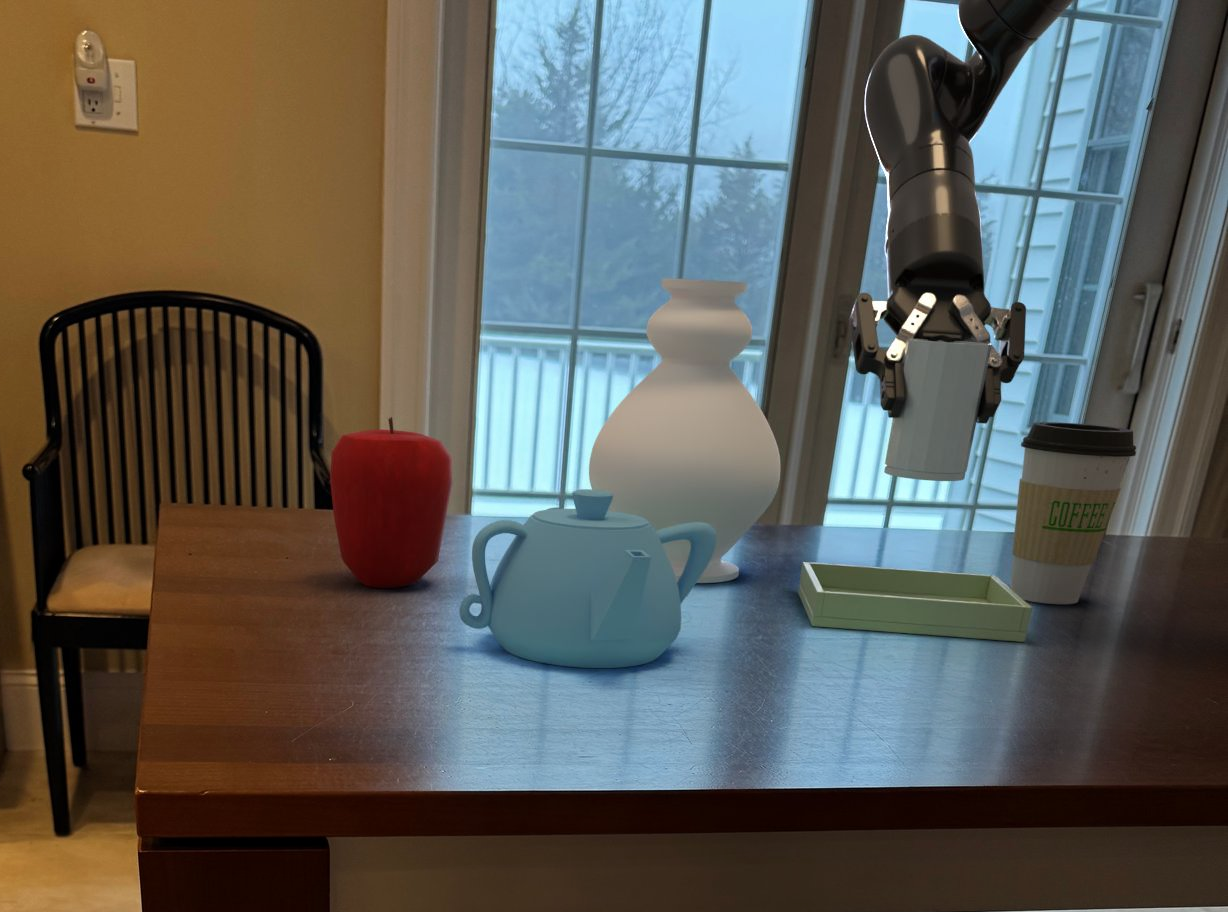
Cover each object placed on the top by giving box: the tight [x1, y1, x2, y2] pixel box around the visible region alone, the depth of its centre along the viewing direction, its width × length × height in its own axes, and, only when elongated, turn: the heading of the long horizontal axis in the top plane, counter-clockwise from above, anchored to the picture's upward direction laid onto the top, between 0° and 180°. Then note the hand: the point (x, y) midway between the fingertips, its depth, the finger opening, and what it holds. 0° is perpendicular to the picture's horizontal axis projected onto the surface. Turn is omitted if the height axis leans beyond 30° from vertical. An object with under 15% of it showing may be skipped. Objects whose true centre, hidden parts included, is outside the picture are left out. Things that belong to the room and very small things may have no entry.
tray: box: [797, 561, 1033, 643], centre depth 120 cm, size 17×14×3 cm
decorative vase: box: [588, 277, 781, 584], centre depth 129 cm, size 18×18×25 cm
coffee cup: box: [1009, 421, 1137, 605], centre depth 129 cm, size 10×10×15 cm
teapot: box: [459, 488, 717, 669], centre depth 102 cm, size 15×17×11 cm
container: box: [883, 339, 993, 482], centre depth 112 cm, size 6×6×10 cm
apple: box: [329, 416, 453, 589], centre depth 120 cm, size 11×10×14 cm
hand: (941, 413), depth 111 cm, fingers closed on container, 6 cm apart
